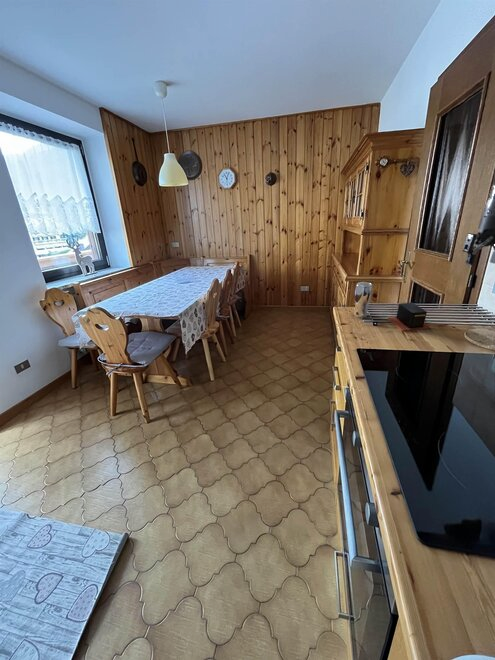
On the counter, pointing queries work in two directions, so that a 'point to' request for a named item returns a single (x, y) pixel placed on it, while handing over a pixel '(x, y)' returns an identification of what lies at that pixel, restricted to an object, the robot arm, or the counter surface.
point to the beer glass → (362, 299)
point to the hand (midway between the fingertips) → (481, 263)
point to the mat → (405, 328)
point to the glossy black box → (411, 315)
